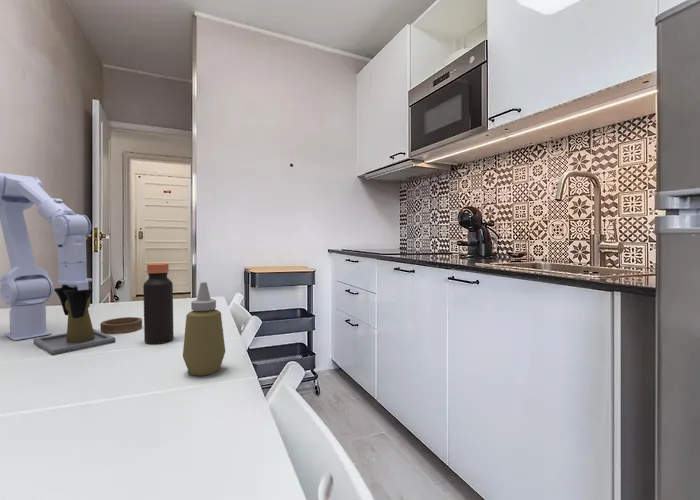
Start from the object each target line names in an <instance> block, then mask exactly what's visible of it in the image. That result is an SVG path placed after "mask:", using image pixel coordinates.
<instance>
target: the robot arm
mask: <svg viewBox="0 0 700 500" xmlns="http://www.w3.org/2000/svg"><path fill="white" fill-rule="evenodd" d="M63 202H64V200H63V199H62V198H53V197H51V196H50V195H49V194H48V193H47V192H46V191H45V190H44V189H43V181H42V180H40V179H39V178H38V177H36V176H33V175H31V176H30V175H28V176H27V175H19V174H13V173H5V172H4V173H3V172H0V227H1V230H2V234H3V238H4V243H5V248H6V251H7V256H8V260H9V265H10V270H8V271H7V272H6V273H5V274H3V275H2V276H1V277H0V297H1V299H2V300H3V302H5V304H6V305H9V306H10V310H9V332H5V336H7V337H8V338H10V339H11V340H12V341H19V340H25V339H31V338H39V337H45V336H51V335H53V334H52V331H50V330H48V329H47V312H46V311H47V307H46V302H49V299H50V298H51V297H53V294H54V292H55V294H57V296H58V298H59V300H60V303H61V308H62V310H63V312H64V315H65V316H68V311H67V310H66V308H65V302H66V300H67V299H68V301H69V305H70V310H71V315H72V317H73V318H79V317H83V316H84V312H85V308H86V304H87V301H88V299H89V300H90V296H91V295H92V293H93V292H94V290H93V288H90V287H89V282H93V278H91V277H90V278H89V277H88V274H87V273H88V271H87V237H88V236H89V235H90V234H91V231H92V224H91V221H90V219H89V217H88V216H87V215H85V214H78V213H75V212H74V211H73V209H71V208H69V206H68V205H66V204H65V203H63ZM33 205H35V206H36V207H37V212H38V214H39V215H40V216H41V217H42V218H43V219H44V220H45V221H46V222H47V223H49V225H50V231H51V232H52V235H53V238H54V242H55V245H57V261H58V263H57V265H58V266H57V270H58V271H57V272H58V280H57V284H58V285H59V286H61V287H56V288H55V287H54V283H53V282H52V281H53V280H52V279H50V276H49V273H48V271H47V270H45V269H43V268H41V267H39V266H37V265H36V260H35V256H34V252H33V248H32V244H31V241H30V235H29V232H28V228H27V224H26V223H27V222H26V219H25V214H24V212H25V210H28V209H31V208H32V207H33Z"/></svg>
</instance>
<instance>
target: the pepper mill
mask: <svg viewBox="0 0 700 500" xmlns="http://www.w3.org/2000/svg"><path fill="white" fill-rule="evenodd" d="M90 305H91V300H90V298H89V299H88V301H87V304H86V308H85V312H84V316H83V317H79V318H73V317H72V315H71V310H70V305H69V301H68V299H67V300H66V302H65V308H66V310H67V311H68V315H67V327H66V333H67V340H66V342H67V343H79V342H84V341H88V340H91V339H93V338H95V335H94V331H93V329H94V327H93V323H92V320H91V316H90V311H89V308H90Z"/></svg>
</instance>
